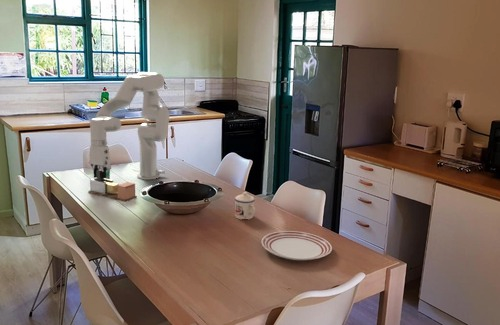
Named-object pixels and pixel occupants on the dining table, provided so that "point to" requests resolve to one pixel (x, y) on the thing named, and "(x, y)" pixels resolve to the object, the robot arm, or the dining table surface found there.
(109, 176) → the food container
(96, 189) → the white rectangular block
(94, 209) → the dining table surface
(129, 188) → the socket block
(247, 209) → the teacup with lid
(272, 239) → the dinner plate
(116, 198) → the base board
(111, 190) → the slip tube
